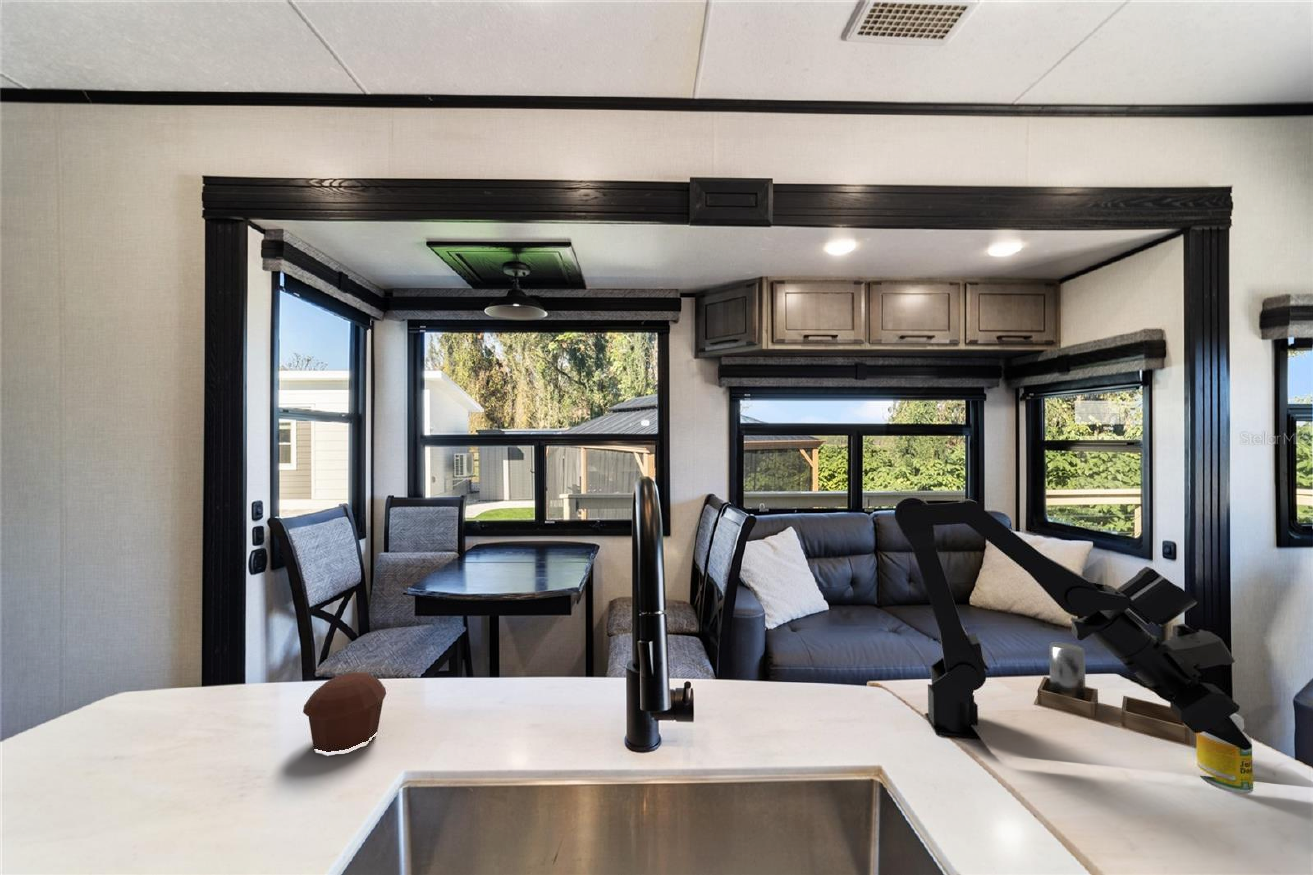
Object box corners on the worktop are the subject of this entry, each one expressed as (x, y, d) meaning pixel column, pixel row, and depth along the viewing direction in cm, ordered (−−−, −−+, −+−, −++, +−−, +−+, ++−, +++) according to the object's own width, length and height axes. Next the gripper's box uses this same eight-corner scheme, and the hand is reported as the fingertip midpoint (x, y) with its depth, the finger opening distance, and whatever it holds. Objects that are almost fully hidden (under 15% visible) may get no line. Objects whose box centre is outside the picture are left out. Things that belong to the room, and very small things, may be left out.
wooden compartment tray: (1192, 735, 86) (1191, 710, 86) (1195, 758, 79) (1194, 731, 79) (1041, 695, 100) (1040, 674, 100) (1033, 712, 93) (1032, 689, 93)
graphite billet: (1060, 709, 91) (1058, 651, 92) (1044, 696, 96) (1043, 641, 97) (1092, 711, 90) (1091, 653, 91) (1075, 698, 95) (1074, 643, 96)
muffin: (351, 717, 91) (353, 659, 91) (401, 728, 87) (402, 668, 88) (283, 754, 80) (285, 688, 80) (337, 768, 76) (338, 699, 77)
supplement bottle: (1202, 767, 77) (1200, 701, 77) (1257, 786, 73) (1255, 716, 73) (1192, 779, 74) (1190, 711, 74) (1249, 800, 70) (1246, 727, 70)
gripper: (1215, 631, 67) (1345, 739, 62) (1155, 596, 84) (1254, 678, 79) (1137, 681, 71) (1254, 787, 65) (1094, 637, 87) (1185, 719, 82)
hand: (1237, 737), depth 73 cm, fingers closed on supplement bottle, 5 cm apart
